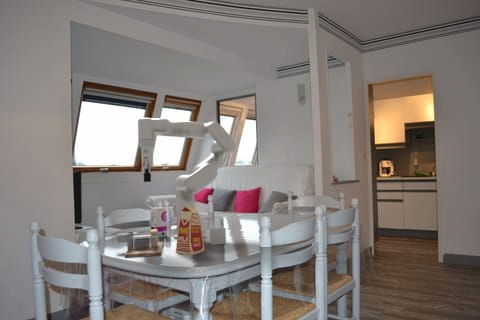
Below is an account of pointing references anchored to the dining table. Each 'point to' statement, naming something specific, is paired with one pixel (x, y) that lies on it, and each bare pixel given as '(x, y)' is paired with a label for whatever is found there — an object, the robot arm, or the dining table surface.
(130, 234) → the hinge post
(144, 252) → the walnut board
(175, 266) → the dining table surface
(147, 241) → the finned block
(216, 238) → the skincare box
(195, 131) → the robot arm
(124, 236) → the clamp bar
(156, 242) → the lug slider
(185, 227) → the milk carton
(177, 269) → the dining table surface
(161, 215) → the white product box
